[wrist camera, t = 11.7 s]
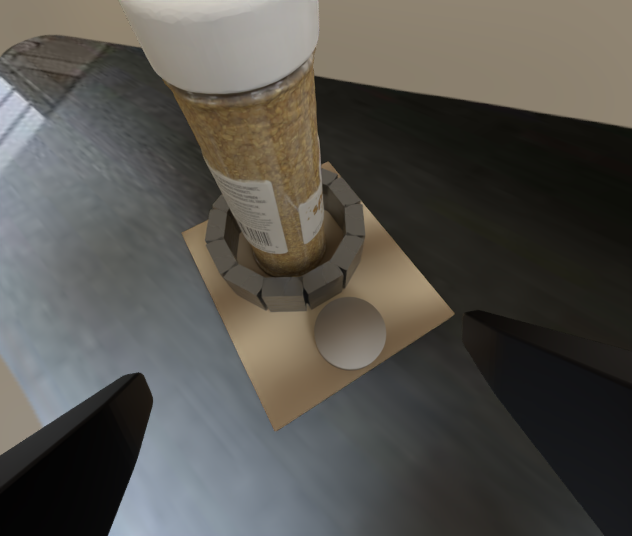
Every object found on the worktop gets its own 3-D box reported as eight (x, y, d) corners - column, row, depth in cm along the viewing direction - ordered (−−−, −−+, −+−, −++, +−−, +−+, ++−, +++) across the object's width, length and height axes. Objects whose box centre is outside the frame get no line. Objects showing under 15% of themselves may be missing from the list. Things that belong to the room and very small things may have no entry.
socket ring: (388, 264, 18) (396, 243, 16) (258, 340, 16) (247, 328, 14) (314, 171, 21) (312, 142, 19) (200, 226, 20) (184, 202, 17)
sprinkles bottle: (341, 255, 18) (360, -53, 6) (276, 296, 17) (145, 31, 5) (300, 204, 20) (251, -116, 8) (239, 239, 19) (75, -61, 7)
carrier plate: (448, 319, 17) (462, 308, 16) (278, 430, 15) (271, 432, 14) (328, 171, 22) (328, 150, 21) (188, 240, 20) (174, 224, 19)
